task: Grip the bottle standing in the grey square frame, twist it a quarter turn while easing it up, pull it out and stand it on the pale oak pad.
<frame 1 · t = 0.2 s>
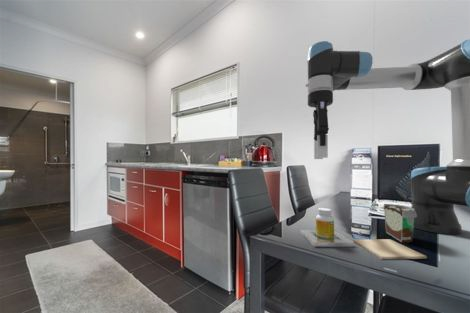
hand: (320, 158, 65), 26 cm above the table, tool pointing down, fingers open, 13 cm apart
grey square frame: (325, 239, 66), on the table
food container: (403, 238, 68), on the table
supplement bottle: (325, 240, 66), resting in grey square frame
oak pad: (386, 249, 59), on the table
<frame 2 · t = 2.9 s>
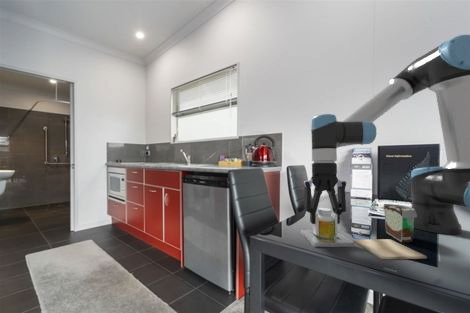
hand: (325, 233, 66), 2 cm above the table, tool pointing down, fingers closed on supplement bottle, 5 cm apart
supplement bottle: (325, 239, 66), resting in grey square frame, touching gripper
everything else where it was.
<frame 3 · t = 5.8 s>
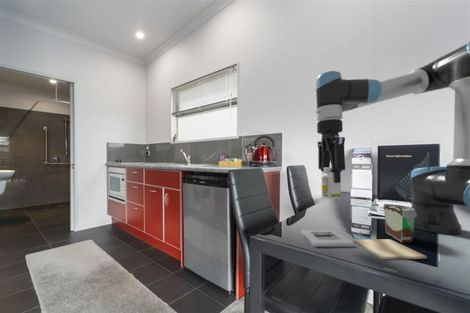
hand: (331, 191, 66), 15 cm above the table, tool pointing down, fingers closed on supplement bottle, 5 cm apart
supplement bottle: (331, 198, 66), point 13 cm above the table, touching gripper
everything else where it was.
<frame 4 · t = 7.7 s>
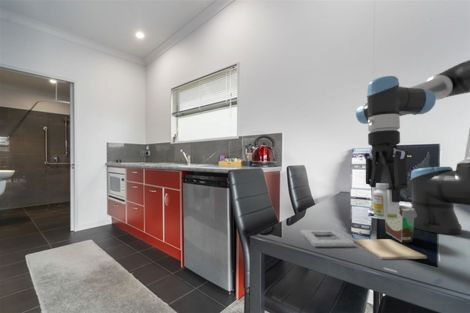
hand: (384, 211, 59), 11 cm above the table, tool pointing down, fingers closed on supplement bottle, 5 cm apart
supplement bottle: (385, 218, 59), point 9 cm above the table, touching gripper
everything else where it was.
when the fingers open (4 cm above the table, at t = 9.1 s): supplement bottle drops 2 cm, resting on oak pad.
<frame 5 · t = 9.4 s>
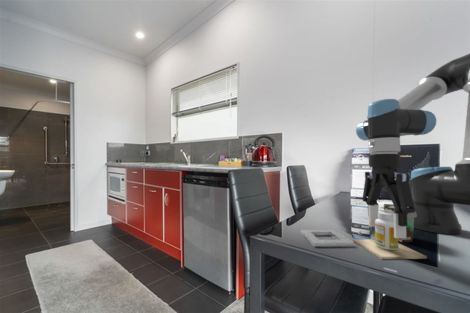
hand: (385, 231, 59), 5 cm above the table, tool pointing down, fingers open, 9 cm apart
supplement bottle: (386, 247, 58), resting on oak pad
everything else where it was.
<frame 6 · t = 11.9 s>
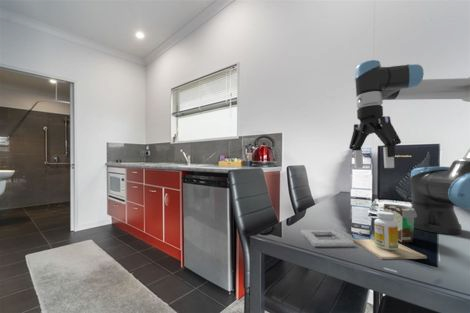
hand: (372, 167, 71), 23 cm above the table, tool pointing down, fingers open, 13 cm apart
nothing on the table moved.
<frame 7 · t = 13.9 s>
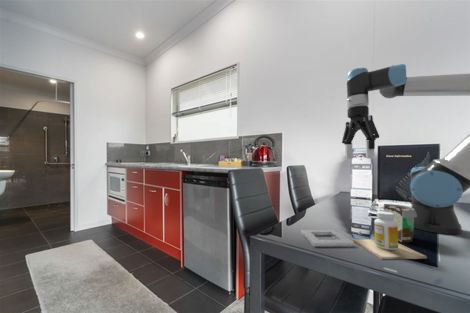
hand: (358, 158, 84), 27 cm above the table, tool pointing down, fingers open, 13 cm apart
nothing on the table moved.
at the end: supplement bottle inside the target area on the oak pad (0.0 cm from its centre), point 0.4 cm above the oak pad's base; supplement bottle tilted 1°; the gripper is holding nothing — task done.
